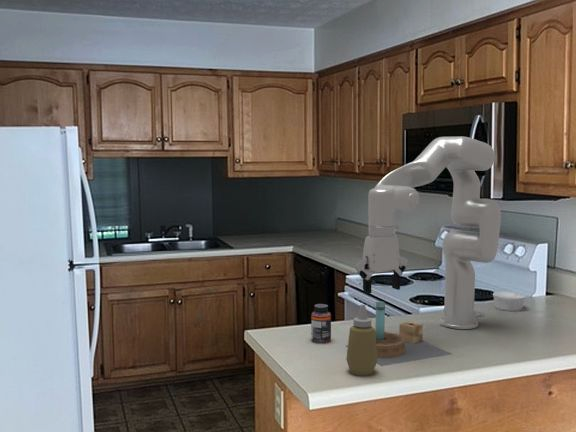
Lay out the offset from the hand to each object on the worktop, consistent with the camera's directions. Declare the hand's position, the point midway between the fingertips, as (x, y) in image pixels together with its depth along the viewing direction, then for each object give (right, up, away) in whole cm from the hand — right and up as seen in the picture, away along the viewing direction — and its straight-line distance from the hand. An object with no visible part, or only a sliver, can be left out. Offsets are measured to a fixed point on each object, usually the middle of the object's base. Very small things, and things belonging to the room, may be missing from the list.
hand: (381, 290), depth 178 cm
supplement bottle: (-17, -17, +10) cm, 26 cm away
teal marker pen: (0, -17, +1) cm, 17 cm away
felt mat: (+5, -18, +2) cm, 18 cm away
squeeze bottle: (-8, -20, -16) cm, 27 cm away
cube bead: (+10, -16, +11) cm, 22 cm away
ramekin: (+55, -13, +52) cm, 77 cm away
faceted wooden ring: (-1, -17, +1) cm, 17 cm away
